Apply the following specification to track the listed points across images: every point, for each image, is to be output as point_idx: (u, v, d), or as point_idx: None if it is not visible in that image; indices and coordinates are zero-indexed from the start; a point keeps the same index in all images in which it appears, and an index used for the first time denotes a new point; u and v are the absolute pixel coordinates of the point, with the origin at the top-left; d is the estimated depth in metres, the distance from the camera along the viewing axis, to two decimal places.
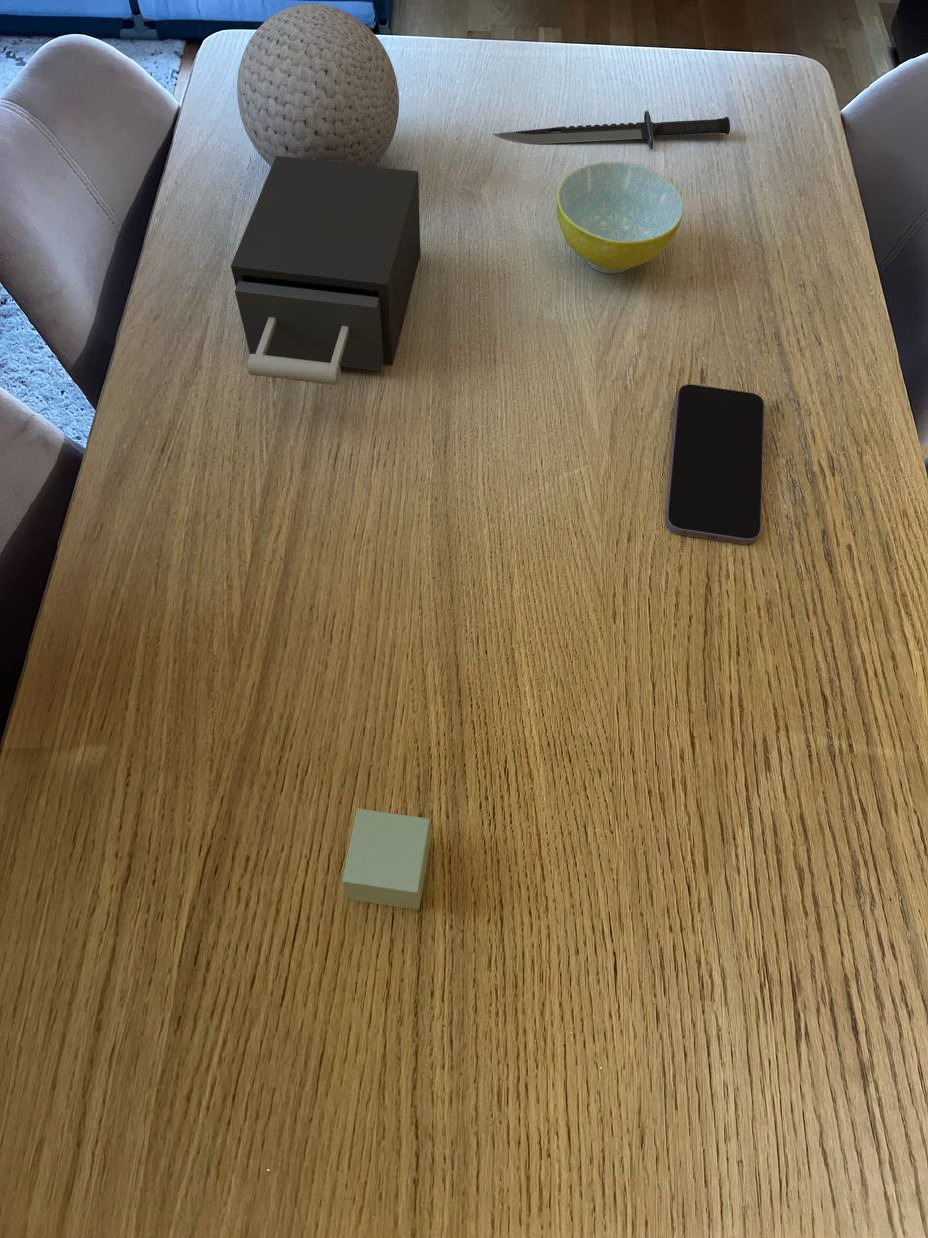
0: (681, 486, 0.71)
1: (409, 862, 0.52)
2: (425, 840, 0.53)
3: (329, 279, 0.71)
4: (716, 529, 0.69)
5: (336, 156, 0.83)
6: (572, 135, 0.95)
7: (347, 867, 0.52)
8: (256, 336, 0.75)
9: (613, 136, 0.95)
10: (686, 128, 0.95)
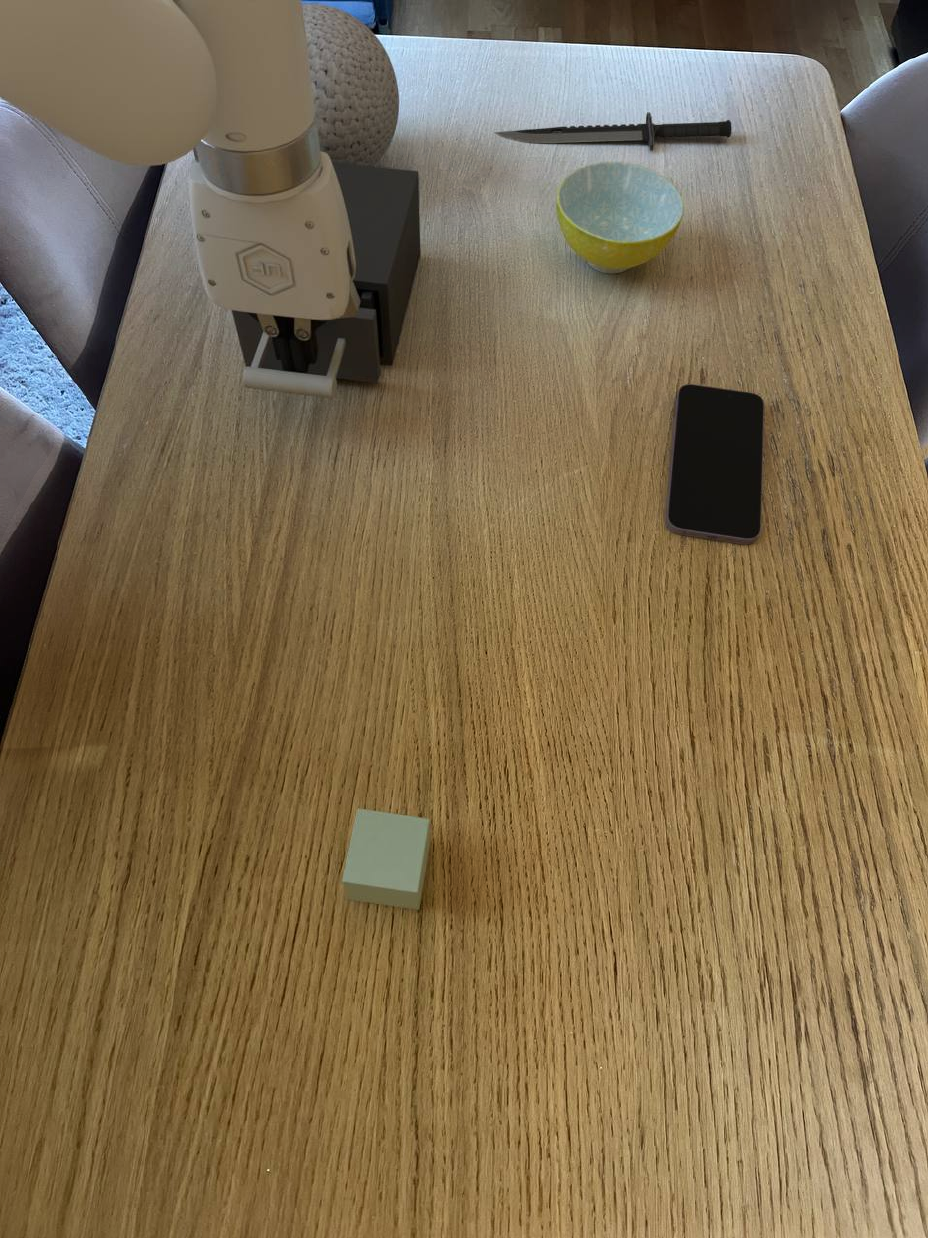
0: (681, 486, 0.71)
1: (409, 862, 0.52)
2: (425, 840, 0.53)
3: None
4: (716, 529, 0.69)
5: (336, 156, 0.83)
6: (573, 135, 0.95)
7: (347, 867, 0.52)
8: (252, 348, 0.75)
9: (614, 137, 0.95)
10: (687, 130, 0.95)
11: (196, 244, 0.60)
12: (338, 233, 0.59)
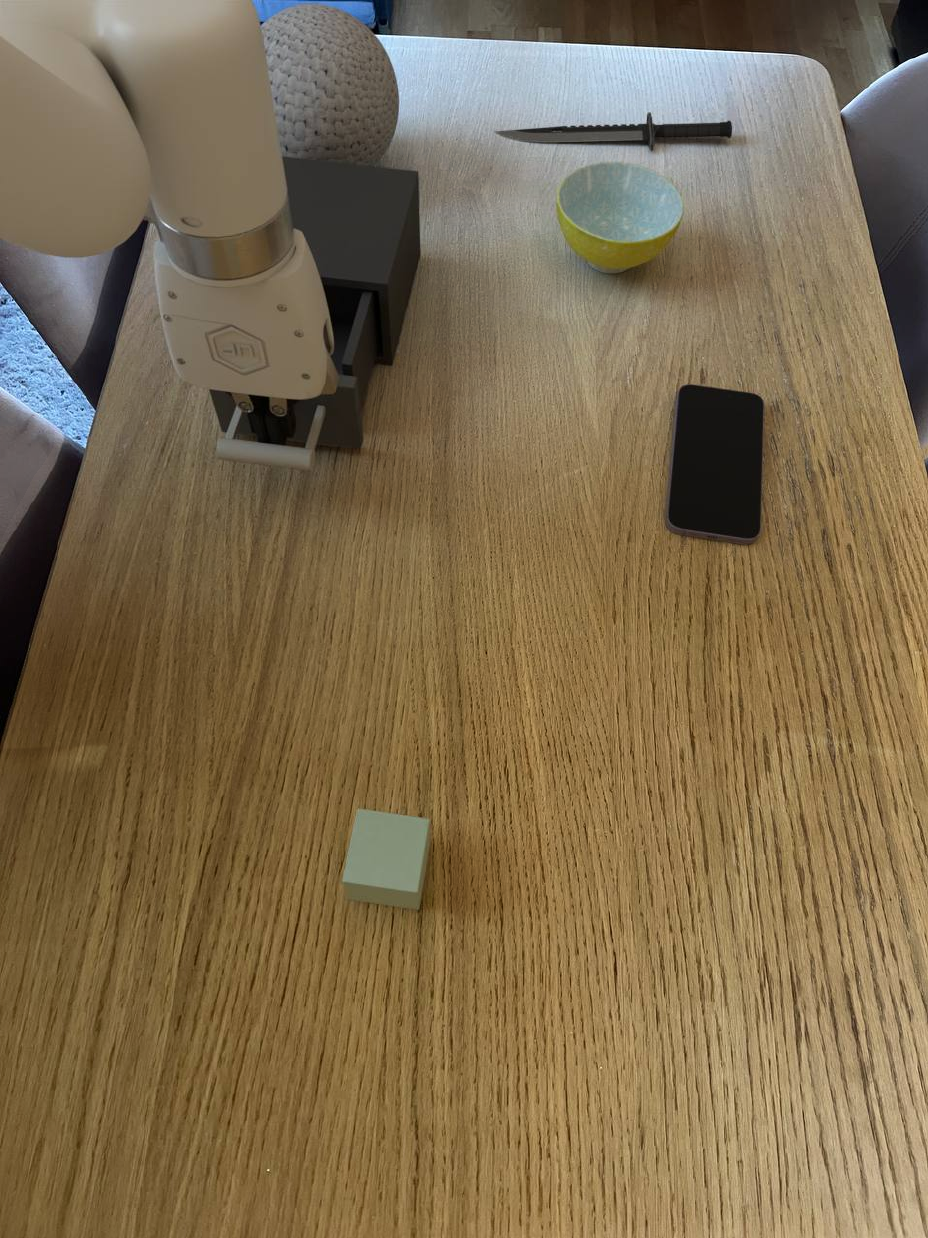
0: (681, 486, 0.71)
1: (409, 862, 0.52)
2: (425, 840, 0.53)
3: (329, 279, 0.71)
4: (716, 529, 0.69)
5: (336, 156, 0.83)
6: (573, 135, 0.95)
7: (347, 867, 0.52)
8: (227, 414, 0.71)
9: (614, 137, 0.95)
10: (688, 130, 0.95)
11: (163, 324, 0.57)
12: (313, 315, 0.56)
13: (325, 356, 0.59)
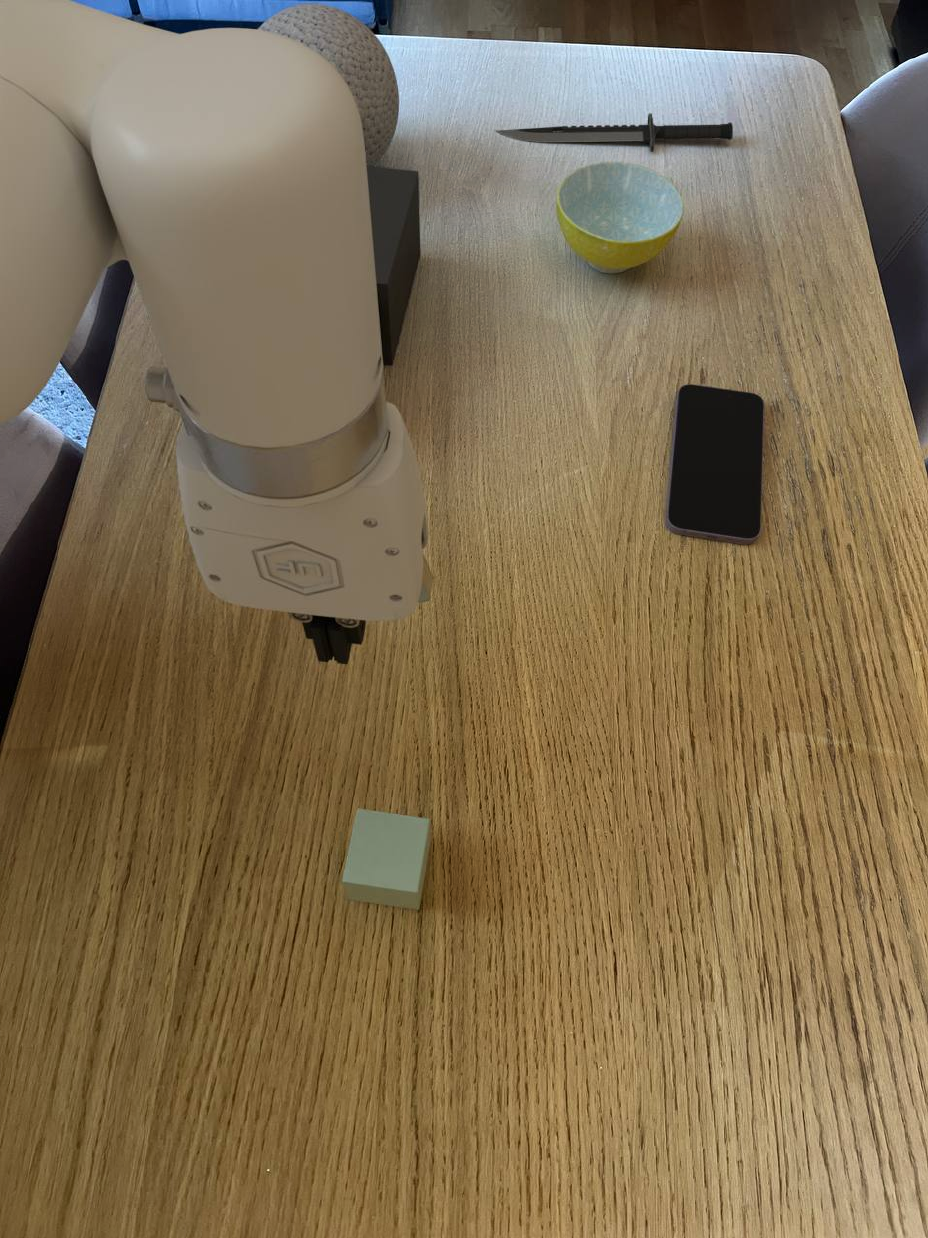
0: (681, 486, 0.71)
1: (409, 862, 0.52)
2: (425, 840, 0.53)
3: None
4: (716, 529, 0.69)
5: None
6: (573, 135, 0.95)
7: (347, 867, 0.52)
8: None
9: (614, 138, 0.95)
10: (688, 132, 0.94)
11: (190, 536, 0.39)
12: (412, 524, 0.38)
13: (422, 566, 0.41)
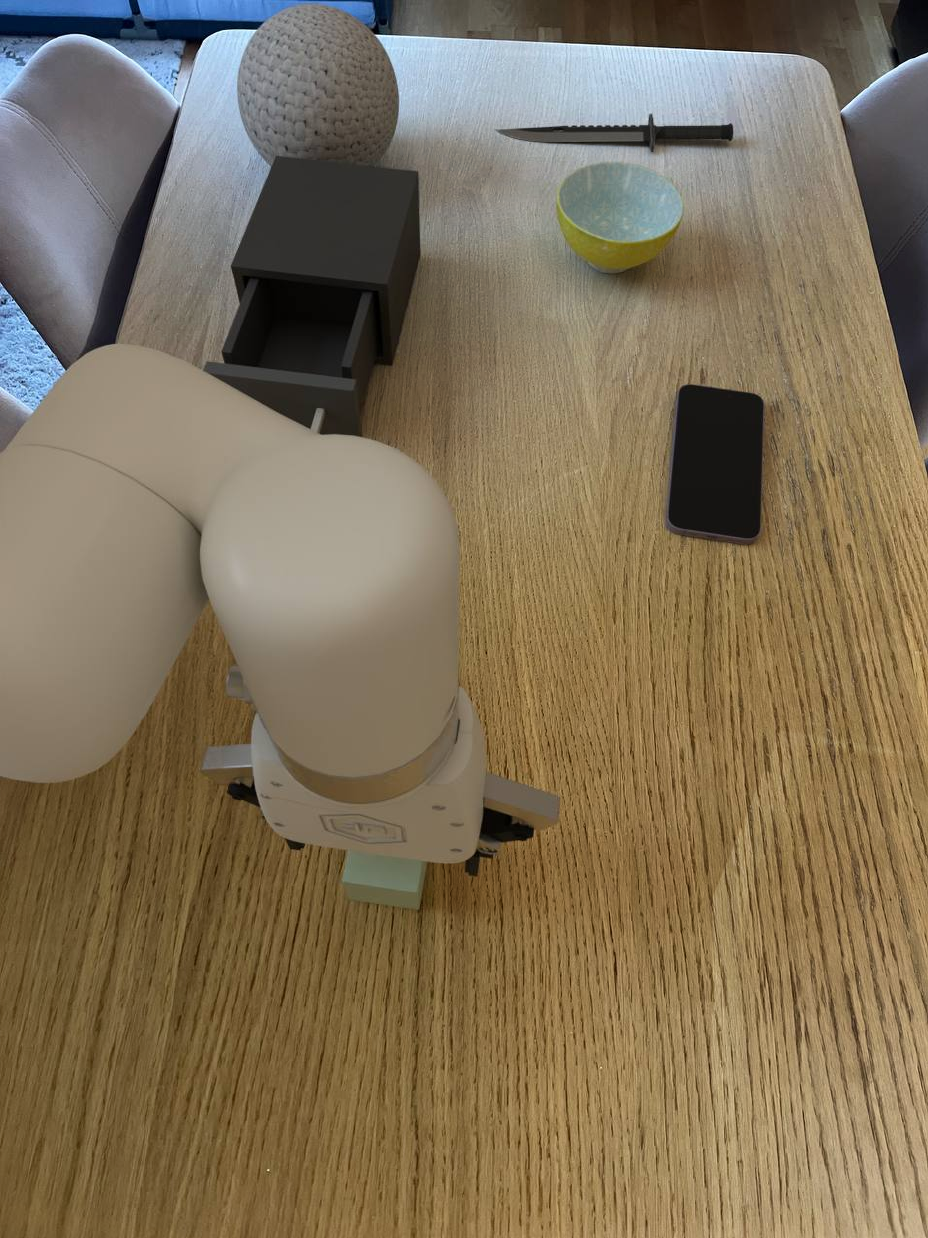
0: (681, 486, 0.71)
1: (409, 862, 0.52)
2: None
3: (329, 279, 0.71)
4: (716, 529, 0.69)
5: (336, 156, 0.83)
6: (574, 134, 0.95)
7: (347, 867, 0.52)
8: None
9: (615, 138, 0.95)
10: (689, 133, 0.94)
11: (259, 798, 0.40)
12: (477, 797, 0.38)
13: (482, 817, 0.42)
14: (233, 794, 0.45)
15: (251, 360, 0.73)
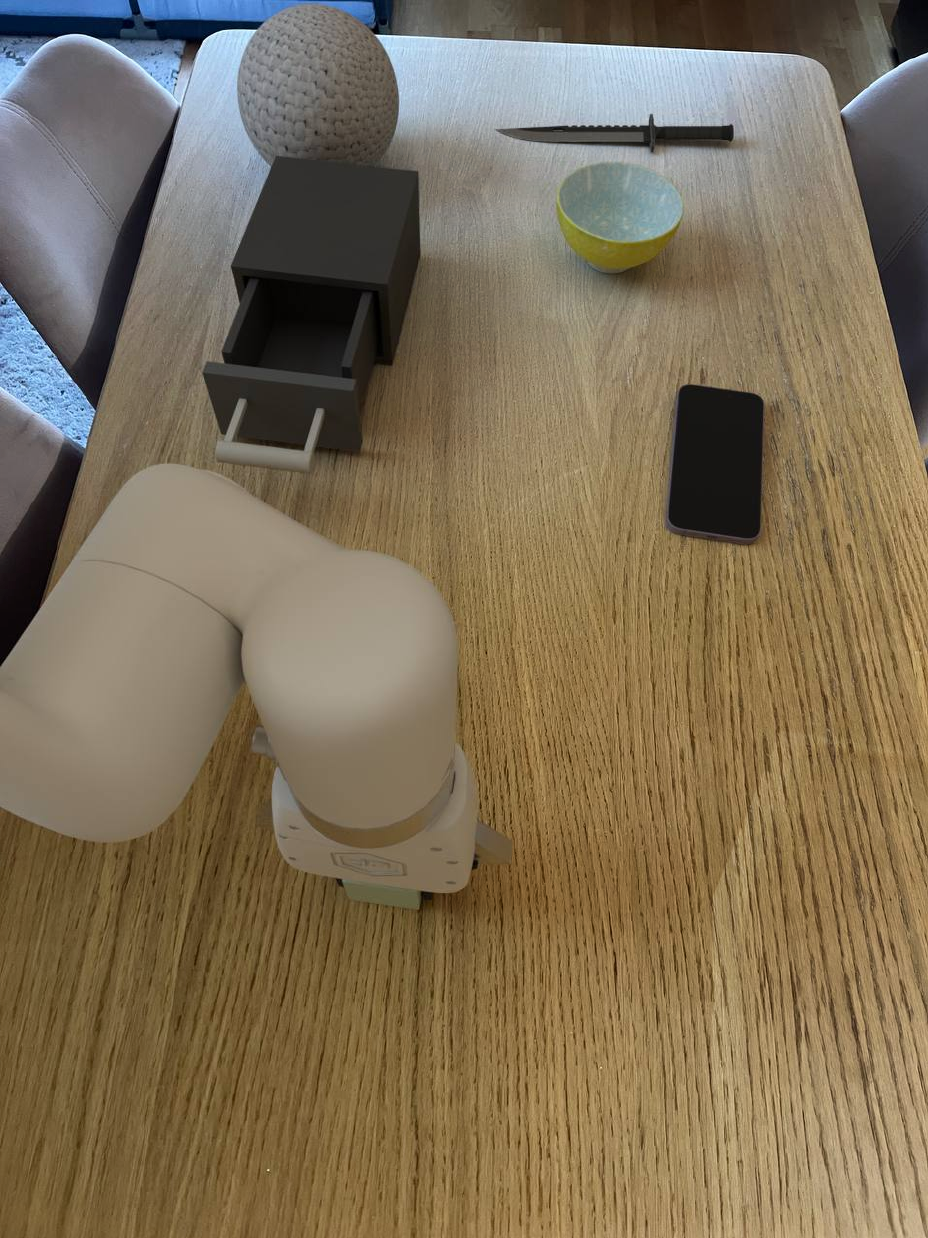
0: (681, 486, 0.71)
1: None
2: None
3: (329, 279, 0.71)
4: (716, 529, 0.69)
5: (336, 156, 0.83)
6: (574, 134, 0.95)
7: None
8: (227, 416, 0.71)
9: (615, 138, 0.95)
10: (689, 133, 0.94)
11: (277, 837, 0.45)
12: (470, 839, 0.44)
13: (474, 852, 0.47)
14: None
15: (251, 360, 0.73)
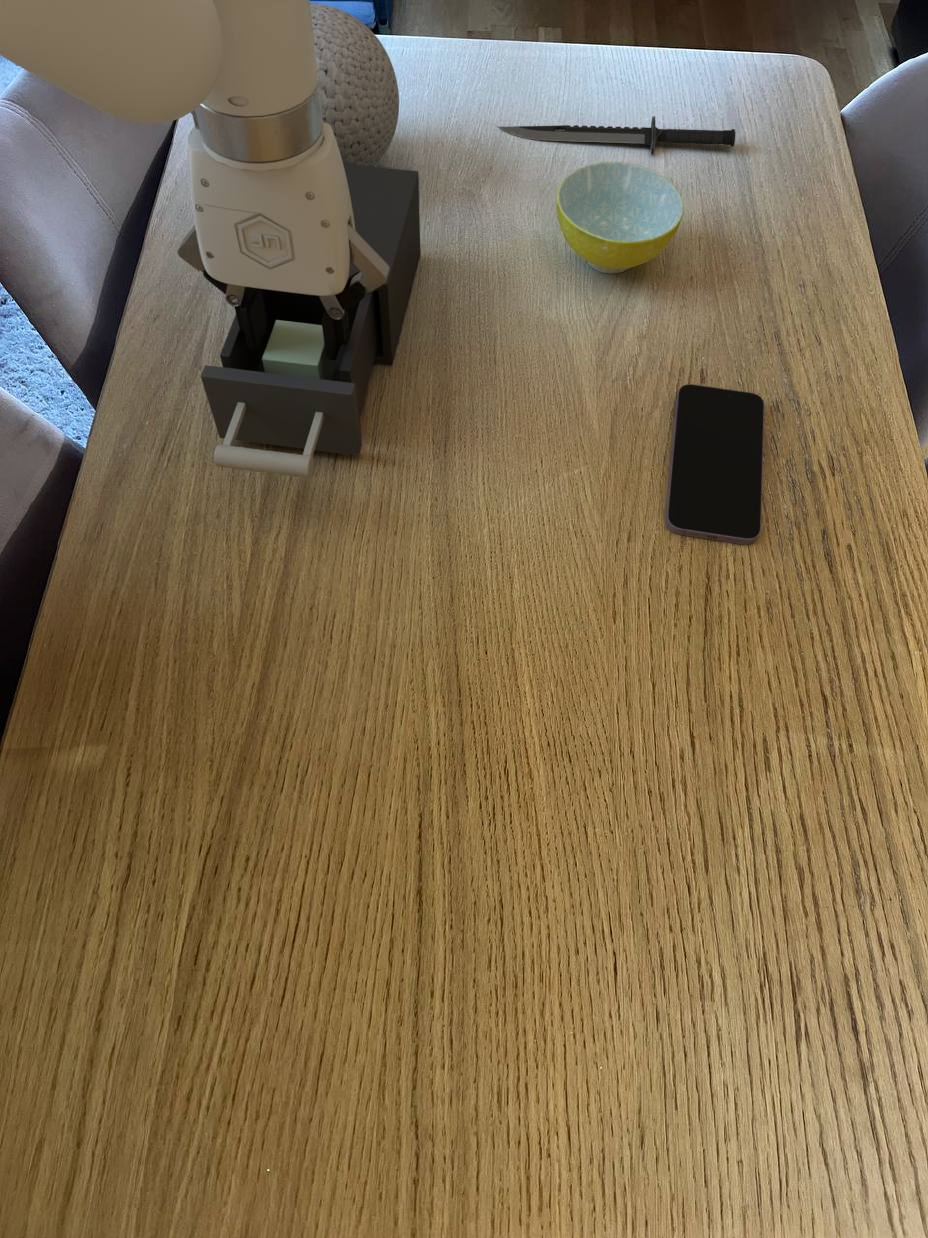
0: (681, 486, 0.71)
1: (313, 349, 0.70)
2: None
3: None
4: (716, 529, 0.69)
5: None
6: (575, 134, 0.95)
7: (266, 351, 0.70)
8: (225, 420, 0.71)
9: (616, 139, 0.95)
10: (690, 136, 0.94)
11: (194, 214, 0.59)
12: (339, 206, 0.58)
13: (348, 252, 0.62)
14: (208, 274, 0.65)
15: (250, 364, 0.73)
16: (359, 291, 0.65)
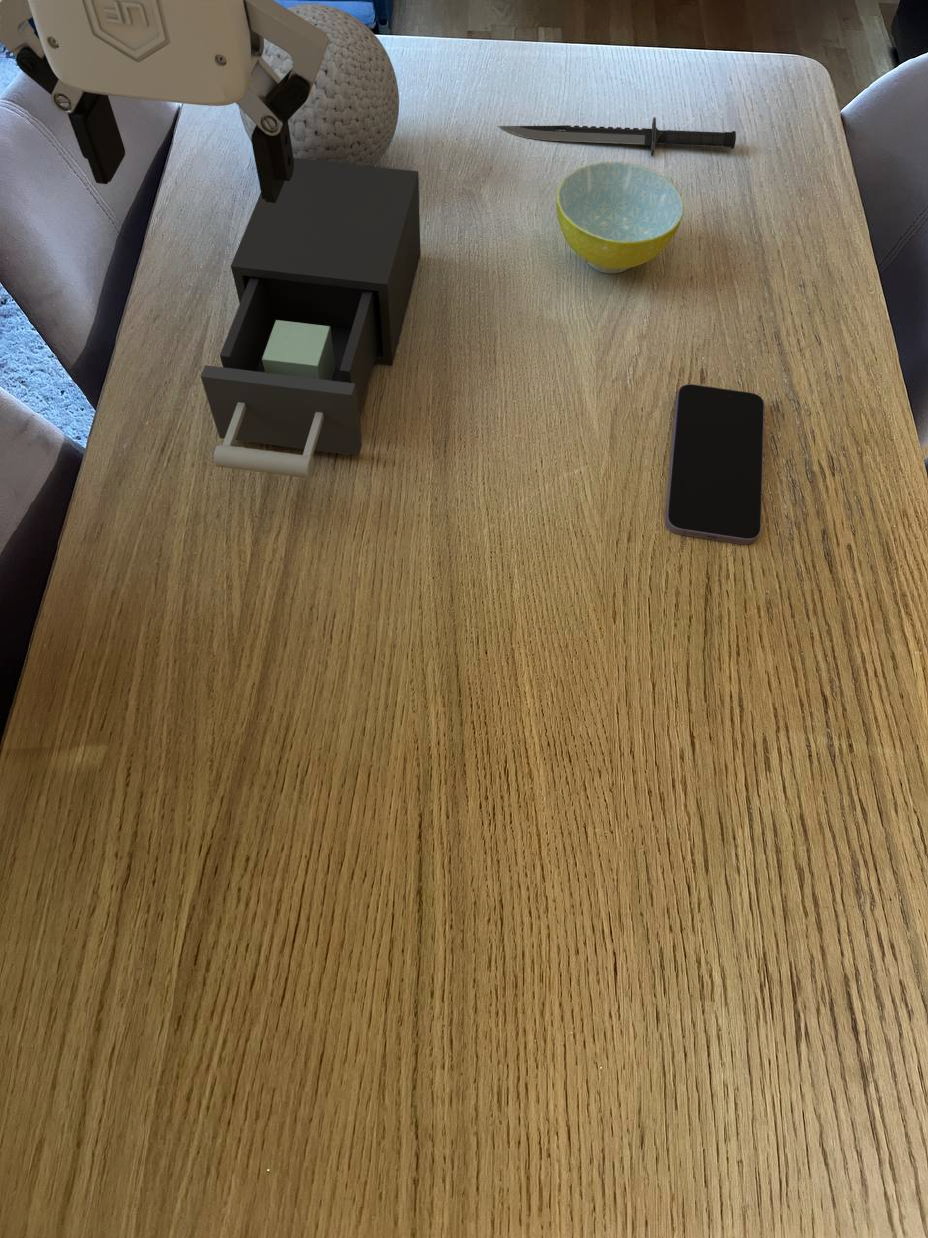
0: (681, 486, 0.71)
1: (313, 349, 0.70)
2: (325, 337, 0.71)
3: (329, 279, 0.71)
4: (716, 529, 0.69)
5: (336, 156, 0.83)
6: (575, 135, 0.95)
7: (266, 351, 0.70)
8: (225, 420, 0.71)
9: (616, 140, 0.95)
10: (691, 138, 0.94)
11: None
12: None
13: (248, 36, 0.44)
14: (22, 62, 0.47)
15: (250, 364, 0.73)
16: (300, 88, 0.46)
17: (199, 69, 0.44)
